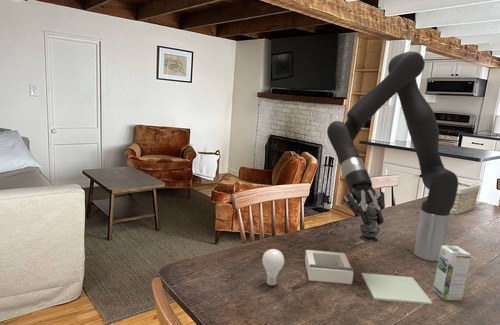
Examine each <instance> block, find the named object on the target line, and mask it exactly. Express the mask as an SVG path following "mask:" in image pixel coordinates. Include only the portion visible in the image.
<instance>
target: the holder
mask: <svg viewBox="0 0 500 325" xmlns="http://www.w3.org/2000/svg"><path fill="white" fill-rule="evenodd" d="M304 264H305V268H306V273H307V278H308V281H309V282H310V281H311V282H312V281H313V282H322V283H323V282H325V283H333V284H334V283H336V284H343V285H344V284H346V285H353V279H354V267H352V266H351V264H350V262H349V260H348V257H347V256H346V253H344V252H339V251H338V252H337V251H324V250H314V249H313V250H312V249H311V250H310V249H305V257H304Z"/></svg>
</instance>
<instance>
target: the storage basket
mask: <svg viewBox="0 0 500 325" xmlns="http://www.w3.org/2000/svg"><path fill="white" fill-rule="evenodd" d="M458 186H463V187H458V189H457V193H456V198H455V202H454V205H453V207H452V209H451V210H450V213H452V214H451V215H455V214H456V215H459V214H462V213H466V212H470V211H472V210H474V209H476V208H475V207H476V203H477V199H478V195H479V193H480V189H481V185H480V184H479V183H474V182H472V181H471V182H470V181H465V180H461V179H458Z"/></svg>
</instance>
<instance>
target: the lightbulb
mask: <svg viewBox="0 0 500 325" xmlns="http://www.w3.org/2000/svg"><path fill="white" fill-rule="evenodd" d="M261 261H262V265H263V267H264V269H265V272H266V275H267V278H266V284H267V285H268V286H275V285H276V284H277V277H278V274H279V272H280V271H281V269H282V268H283V267H284V264H285V257H284V255H283V253H282V252H281V251H280V250H279V249H276V248H270V249H268V250H266V251H265V252H264V253H263V255H262V260H261Z"/></svg>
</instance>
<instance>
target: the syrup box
mask: <svg viewBox="0 0 500 325" xmlns="http://www.w3.org/2000/svg"><path fill="white" fill-rule="evenodd" d="M471 258H472V254H471V253H469V252H467V251H465V250H464V249H462V248H461V247H460V246H456V245H448V244H447V245H446V246H441V250H440V255H439V260H438V261H437V265H436V266H437V267H436V271H435V278H434V283H433V286H432V290H433V292H435V293H436V294H437V295H438V296H439V297H440V298H441V299H442V300H443V301H462V300H463V298H464V297H463V295H464V291H465V287H466V282H467V277H468V274H469V273H468V272H469V268H470V264H471V263H470V262H471Z"/></svg>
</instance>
